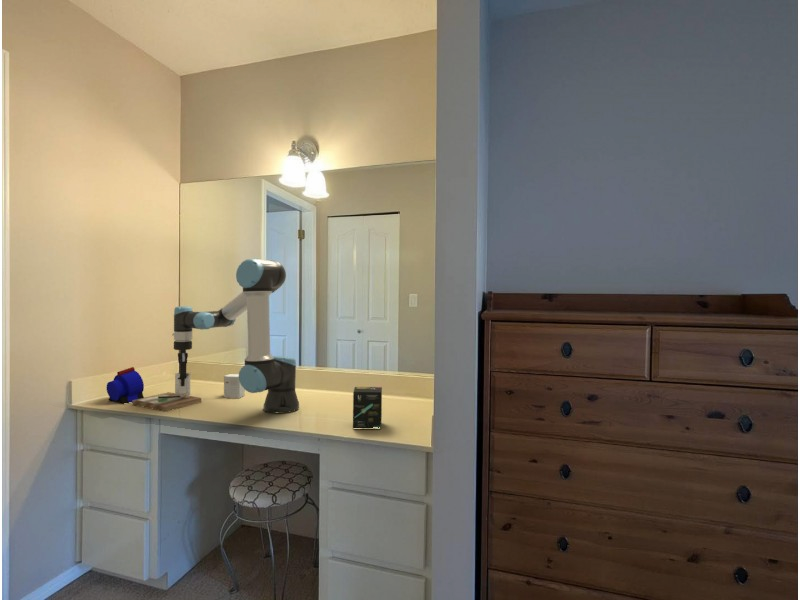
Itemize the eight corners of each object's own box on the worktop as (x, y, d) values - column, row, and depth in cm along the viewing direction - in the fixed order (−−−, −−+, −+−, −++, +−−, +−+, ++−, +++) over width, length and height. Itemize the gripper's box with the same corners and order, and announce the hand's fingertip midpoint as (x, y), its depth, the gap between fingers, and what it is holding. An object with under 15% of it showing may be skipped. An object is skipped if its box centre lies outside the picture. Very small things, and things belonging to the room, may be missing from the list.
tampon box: (381, 422, 181) (382, 386, 181) (381, 430, 172) (381, 391, 172) (354, 422, 181) (354, 386, 181) (352, 429, 172) (352, 391, 171)
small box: (244, 395, 221) (245, 374, 221) (239, 398, 216) (239, 376, 215) (229, 395, 222) (229, 373, 222) (223, 397, 216) (223, 375, 216)
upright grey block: (190, 396, 207) (190, 372, 207) (189, 397, 205) (189, 373, 205) (159, 397, 204) (159, 373, 204) (157, 398, 202) (157, 374, 201)
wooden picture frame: (201, 402, 207) (201, 397, 207) (165, 411, 191) (166, 405, 191) (168, 396, 217) (168, 391, 217) (132, 404, 201) (132, 399, 201)
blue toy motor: (145, 399, 210) (146, 367, 210) (119, 405, 199) (119, 371, 199) (129, 396, 216) (129, 365, 215) (102, 401, 205) (103, 368, 205)
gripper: (173, 338, 210) (172, 389, 210) (174, 343, 196) (173, 396, 196) (190, 338, 213) (190, 387, 214) (193, 342, 199) (192, 395, 200)
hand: (182, 392), depth 205 cm, fingers closed on upright grey block, 3 cm apart
